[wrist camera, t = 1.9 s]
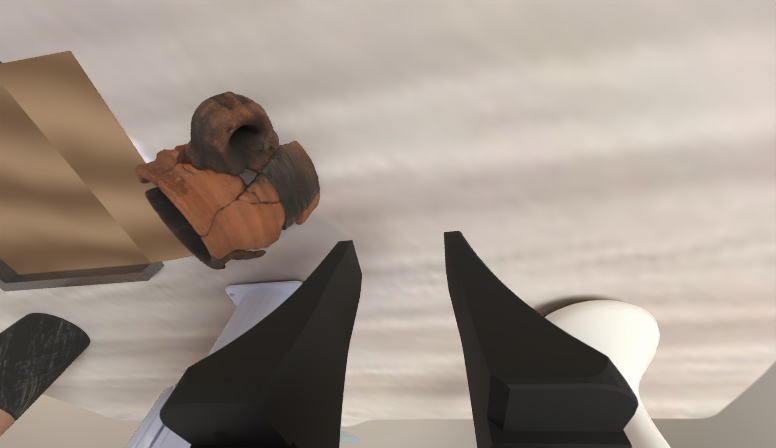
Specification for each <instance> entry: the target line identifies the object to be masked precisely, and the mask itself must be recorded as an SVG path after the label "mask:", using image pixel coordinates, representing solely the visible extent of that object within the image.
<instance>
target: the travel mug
mask: <svg viewBox="0 0 776 448" xmlns="http://www.w3.org/2000/svg"><path fill="white" fill-rule="evenodd" d="M89 343H90V339H89V337H88V336H87V335H86V333H85V332H84V331H82V330H81V329H80V328H78V327H77V326H75V325H74V324H72V323H70V322H68V321H66V320H63V319H61V318H58V317H55V316H52V315H48V314H41V313H32V314H29V315H26V316H25V317H23V318H22V319H20V320H19V321H17V322H16V323H14V324H13V325H12V326H10V327H9V328H7V329H6V330H4V331H3V332H2V333H0V436H1V435H2V434H3V433H4V432H5V431H6V430H7V429H8V428H9V427H10V426H11V425H12V424H13V423H14V422H15V421H16V420H17V419H18V418H19V417H20V416H21V415H22V414H23V413H24V412H25V411H26V410H27V409H28V408H29V407H30V406H31V405H32V404H33V403H34V402H35V401H36V400H37V399H38V398H39V396H40V395H41V394H42V393H43V392H44V391H45V390H46V389H47V388H48V387H49V386H50V385H51V384H52V383H53V382H54V381H55V380H56V379H57V378H58V377H59V376H60V375H61V374H62V373H63V372H64V371H65V370H66V368H67V367H68V366H69V365H70V364H71V363H72V362H73V361H74V360H75V359H76V358H77V357H78V356H79V355H80V354H81V353H82V352H83V351H84V350H85V349H86V347H87V346H88V345H89Z"/></svg>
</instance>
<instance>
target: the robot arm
mask: <svg viewBox="0 0 776 448" xmlns="http://www.w3.org/2000/svg"><path fill="white" fill-rule="evenodd" d="M444 244H445V263H446V274H447V281H448V288H449V293H450V297H451V301H452V305H453V309H454V313H455V317H456V321H457V325H458V329H459V333H460V337H461V342H462V347H463V352H464V359H465V366H466V372H467V379H468V385H469V392H470V399H471V406H472V413H473V420H474V426H475V434H476V441H477V448H632V445H631V443H630V441H629V439H628V437H627V435H626V434H625V432H624V430H623V429H624V428H625V427H626V425H627V424H628V423H629V421H630V420H631V419H632V417H633V416H634V415H635V412H636V410H637V408H638V405H639V403H638V400H637V397H636V395H635V394H634V392H633V390H632V389H631V387H630V386H629V384H628V382H627V381H626V380H625V378H624V377H623V375H622V374H621V373H620V371H619V370H618V369H617V367H616V366H615V365H614V364H613V362H612V361H611V360H610V358H609V357H608V356H606V355H605V354H603V353H601V352H599V351H598V350H596V349H594V348H593V347H591V346H589V345H587V344H586V343H584V342H582V341H580V340H579V339H577V338H575V337H573V336H572V335H570V334H568V333H567V332H565V331H564V330H562V329H561V328H559V327H558V326H556V325H555V324H553V323H552V322H550V321H549V320H548V319H546V318H545V317H543V316H542V315H541V314H539V313H538V312H537V311H535V310H534V309H532V308H531V307H530V306H528V305H527V304H526V303H525V302H524V301H522V300H521V299H520V298H519V297H518V296H516V295H515V294H514V293H513V292H512V291H511V290H510V289H508V288H507V287H506V286H505V285H504V284H503V283H502V282H501V281H500V280H499V279H498V278H497V277H496V276H495V275H494V274H493V273H492V272H491V271H490V270H489V268H488V267H487V266H486V265H485V264H484V263H483V262H482V260H481V259H480V258H479V257H478V256H477V254H476V253H475V252H474V251H473V249H472V248H471V247H470V245H469V244H468V242H467V241H466V239H465V238H464V236H463V235H462V233H461V232H460V231H453V232H444ZM361 280H362V273H361V269H360V266H359V262H358V259H357V255H356V252H355V248H354V245H353V241H352V240H350V241H339V242H338V243H337V244H336V245H335V247H334V248H333V249H332V250H331V251H330V253H329V254H328V255H327V256H326V257H325V259H324V260H323V261H322V262H321V263H320V265H319V266H318V267H317V268H316V269H315V270H314V272H313V273H312V274H311V275H310V276H309V277H308V278H307V279H306V280H305V281H304V282H303V283H302V282H300V281H284V282H270V283H256V284H242V285H229V286H227V287H226V288H225V291H226V293H227V294H228V296H229V297H230V299H231V300H232V302H233V303H234V305H235V306H236V307H237V308H236V310H235V311H234V313H233V314H232V316H231V318H230V319H229V321H228V323H227V324H226V326H225V327H224V329H223V331H222V332H221V334H220V335H219V337H218V339H217V340H216V342H215V344H214V345H213V347H212V348H211V350H210V352H209V353H208V355H207V356H206V358H204V359H202V360H201V361H199V362H197V363H196V364H194V365H192V366H190V367H189V368H188V369H187V370H186V372H185V373H184V375H183V376H182V378H181V379H180V381H179V382H178V383H177V384H175V386H174V387H173V386H172V387H169V388H167V389H165V390H164V391H163V393H162V394H161V396H160V397H159V399H158V400H157V401H156V403H155V404H154V406H153V407H152V409H151V410H150V412H149V413H148V415H147V416H146V418H145V419H144V421H143V422H142V424H141V425H140V427H139V428H138V430H137V431H136V433H135V434H134V435H133V437H132V438H131V440H130V441H129V443H128V444H127V446H126V447H125V448H339V442H340V426H341V414H342V402H343V392H344V382H345V373H346V364H347V356H348V349H349V344H350V339H351V335H352V330H353V326H354V321H355V317H356V312H357V308H358V303H359V298H360V292H361Z"/></svg>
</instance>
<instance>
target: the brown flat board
mask: <svg viewBox="0 0 776 448" xmlns="http://www.w3.org/2000/svg"><path fill="white" fill-rule="evenodd" d="M139 164H146V163H145V161H144V160H143V158H142V157H141V155H140V154H139V152H138V151H137V149H136V148H135V146H134V145H133V143H132V142H131V140H130V139H129V137H128V136H127V134H126V133H125V131H124V130H123V128H122V127H121V126H120V124H119V123H118V121H117V120H116V118H115V117H114V115H113V114H112V112H111V111H110V109H109V108H108V106H107V105H106V103H105V102H104V100H103V99H102V97H101V96H100V94H99V93H98V91H97V90H96V88H95V87H94V85H93V84H92V82H91V81H90V79H89V78H88V76H87V75H86V73H85V72H84V70H83V69H82V67H81V66H80V64H79V63H78V61H77V60H76V59H75V57H74V56H73V54H72V53H71V51H66V52H61V53H56V54H50V55H45V56H40V57H34V58H29V59H24V60H18V61H13V62H8V63H2V64H0V259H1V260H2V261H3V262H5V263H6V264H7V265H8V266H9V267H11V268H12V269H13V270H14V271H16V272H17V273H18V274H31V273H43V272H54V271H66V270H78V269H89V268H101V267H113V266H125V265H136V264H148V263H155V262H161V261H166V260H171V259H177V258H182V257H188V256H193V255H194V254H192V253H191V252H190V251H189V250H188V249H187V248H186V247H185V246H184V245H183V244H182V243H181V242H180V241H179V239H178V238H177V237H176V236H175V235H174V234H173V233H172V232H171V231H170V229H169V228H168V227H167V226H166V225H165V223H164V222H163V221H162V220H161V218H160V217H159V215H158V214H157V212H156V211H155V210H154V209H153V207H152V206H151V204H150V203H149V201H148V200H147V198H146V196H145V192H146V191H147V190H149V189H152V188H155V187H157V186H156V185H154V184H153V183H151V182H149V183H145V184H144V183H141V182H140V181H139V178H138V177H137V175H136V173H135V168H136V166H137V165H139Z"/></svg>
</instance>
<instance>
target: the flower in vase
mask: <svg viewBox="0 0 776 448" xmlns="http://www.w3.org/2000/svg"><path fill="white" fill-rule="evenodd" d="M545 318H546V319H548V320H549V321H550V322H552V323H553V324H555V325H556V326H558V327H559V328H561V329H562V330H564V331H565V332H567V333H568V334H570V335H572V336H573V337H575V338H577V339H579V340H580V341H582V342H584V343H586V344H587V345H589V346H591V347H593V348H594V349H596V350H598V351H599V352H601V353H603V354H605V355H606V356H608V357H609V358H610V360H611V361H612V362H613V364H614V365H615V366H616V367H617V369H618V370H619V371H620V373H621V374H622V375H623V377H624V378H625V380H626V381H627V382H628V384H629V386H630V387H631V389H632V390H633V392H634V394H635V395H636V397H637V400H638V403H639V405H638V408H637V410H636V412H635V415H634V416H633V417H632V419H631V420H630V421H629V423H628V424H627V425H626V427H625V428H624V429H623V430H624V432H625V434H626V435H627V437H628V439H629V441H630V443H631V445H632V448H671V447H670V446H669V445H668V443H667V442H666V441H665V440H664V438H663V437H662V435H661V434H660V432H659V431H658V429H657V428H656V426H655V425H654V423H653V422H652V420H651V418H650V417H649V415H648V413H647V411H646V410H645V408H644V406H643V404H642V402H641V399H640V397H639V391H638V386H639V381H640V379H641V377H642V375H643V374H644V372H645V370H646V369H647V367H648V365H649V364H650V362H651V360H652V358H653V356H654V354H655V353H656V349H657V346H658V342H659V339H660V333H659V330H658V326H657V323H656V320H655V319H654V317H653V316H652V315H651V314H650V313H649V312H647V311H646V310H644V309H642V308H640V307H637V306H635V305H632V304H629V303H626V302H622V301H616V300H593V301H585V302H580V303H576V304H572V305H569V306H566V307H563V308H561V309H558V310H556V311H554V312H552V313H550V314H549V315H547V316H545Z"/></svg>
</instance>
